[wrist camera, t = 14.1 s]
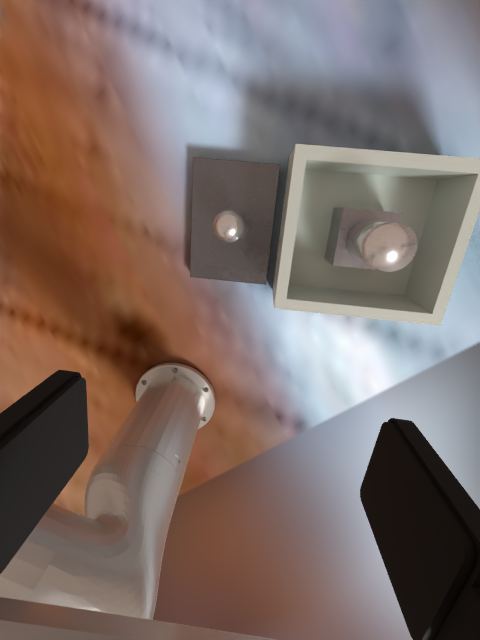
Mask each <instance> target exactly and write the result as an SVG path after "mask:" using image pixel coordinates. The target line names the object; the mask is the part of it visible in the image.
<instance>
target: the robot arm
mask: <svg viewBox="0 0 480 640" xmlns="http://www.w3.org/2000/svg"><path fill="white" fill-rule="evenodd" d="M176 368H177V369H176ZM206 387H207V388H206ZM135 395H136V402H137V403H136V405H135V406H134V408H133V409H132V411H131V412H130V414H129V415H128V417H127V418H126V420H125V421H124V423H123V424H122V426H121V427H120V429H119V430H118V432H117V433H116V435H115V436H114V438H113V439H112V441H111V442H110V444H109V446H108V447H107V449H106V450H105V452H104V453H103V455H102V456H101V458H100V459H99V461H98V462H97V464H96V465H95V467H94V469H93V470H92V472H91V475H90V477H89V480H88V483H87V487H86V492H85V516H83V515H81V514H80V515H79V514H76V513H74V512H72V511H70V510H68V509H65V508H63V507H61V506H59V505H56V504H54V503H53V502H54V501H55V499H56V498H57V497H58V495H59V494H60V492H61V491H62V490H63V488H64V487H65V486H66V484H67V483H68V481H69V480H70V479H71V477H72V476H73V475H74V473H75V472H76V470H77V469H78V468H79V466H80V465H81V464H82V462H83V461H84V459H85V458H86V455H87V453H88V448H89V444H88V419H87V394H86V380H85V379H84V378H82V377H81V374H80V373H78V372H72V371H65V370H58V371H56V372H55V373H54V374H52V375H51V376H50V377H48V378H47V379H46V380H44V381H43V382H42V383H40V384H39V385H38V386H36V387H35V388H34V389H32V390H31V391H30V392H28V393H27V394H26V395H24V396H23V397H22V398H20V399H19V400H18V401H16V402H15V403H14V404H12V405H11V406H10V407H8V408H7V409H6V410H4V411H3V412H2V413H0V640H276V639H270V638H263V637H257V636H250V635H244V634H238V633H232V632H225V631H219V630H213V629H206V628H200V627H193V626H187V625H181V624H174V623H168V622H162V621H155V620H152V619H153V615H154V610H155V604H156V598H157V591H158V584H159V576H160V569H161V563H162V556H163V551H164V545H165V540H166V536H167V532H168V528H169V524H170V520H171V516H172V513H173V509H174V506H175V503H176V499H177V496H178V493H179V490H180V486H181V483H182V480H183V476H184V473H185V470H186V467H187V463H188V460H189V457H190V453H191V450H192V447H193V444H194V440H195V437H196V434H197V430H198V429H199V428H201V427H203V426H204V425H205V424H206V423H207V422H208V421H209V420H210V418H211V416H212V414H213V412H214V408H215V393H214V390H213V388H212V385H211V384H210V382H209V381H208V379H207V378H206V377H205V376H204V375H203V374H202V373H200V372H199V371H198V370H196V369H194V368H192V367H190V366H187V365H184V364H180V363H163V364H159V365H156V366H154V367H152V368H151V369H149V370H148V371H147V372H146V373H145V374H144V375H143V376H142V377H141V379H140V380H139V382H138V384H137V387H136V392H135ZM360 497H361V501H362V504H363V507H364V510H365V512H366V515H367V518H368V520H369V523H370V526H371V529H372V531H373V534H374V537H375V540H376V542H377V545H378V548H379V550H380V553H381V556H382V559H383V562H384V564H385V567H386V569H387V572H388V575H389V578H390V581H391V583H392V586H393V589H394V591H395V594H396V597H397V600H398V603H399V605H400V608H401V611H402V613H403V616H404V619H405V621H406V624H407V627H408V630H409V632H410V635H411V637H412V639H413V640H480V509H479V508H478V506H477V505H476V504H475V503H474V501H473V500H472V499H471V497H470V496H469V495H468V493H467V492H466V491H465V489H464V488H463V487H462V486H461V484H460V483H459V482H458V480H457V479H456V478H455V476H454V475H453V474H452V472H451V471H450V470H449V469H448V467H447V466H446V465H445V463H444V462H443V461H442V459H441V458H440V457H439V455H438V454H437V453H436V451H435V450H434V449H433V448H432V446H431V445H430V444H429V442H428V441H427V440H426V438H425V437H424V436H423V435H422V433H421V432H420V431H419V429H418V428H417V427H416V425H415V424H414V423H413V422H412V421H408V420H401V419H395V418H391V419H390V420H388V422H384V423H383V424H382V426H381V429H380V432H379V435H378V438H377V441H376V444H375V447H374V450H373V453H372V456H371V459H370V462H369V465H368V468H367V471H366V474H365V477H364V480H363V482H362V485H361V489H360Z"/></svg>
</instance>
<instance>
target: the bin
mask: <svg viewBox="0 0 480 640" xmlns="http://www.w3.org/2000/svg"><path fill="white" fill-rule="evenodd" d="M333 208H354V209H365V210H376V211H387V212H398V213H403V215H402V219H401V223H400V224H403V225H406V226H408V227H410V228H411V229H412V230H413V231H414V233H415V235H416V237H417V241H418V246H417V251H416V254H415V256H414V258H413V259H412V260H411V262H410V263H409V264H408V265H406V266H405V267H403V268H402V269H400V270H397V271H393V272H385V271H381V270H374V269H364V268H354V267H344V266H334V265H332V264H330V263H329V262H328V261H327V260H326V259H324V257H325V252H326V247H327V241H328V236H329V230H330V225H331V219H332V214H333ZM479 212H480V159H479V158H467V157H454V156H442V155H429V154H417V153H405V152H392V151H380V150H367V149H355V148H342V147H330V146H317V145H305V144H295V146H294V148H293V150H292V153H291V155H290V157H289V163H288V171H287V179H286V187H285V194H284V202H283V210H282V218H281V226H280V234H279V242H278V250H277V258H276V266H275V274H274V282H273V302H274V308H277V309H287V310H296V311H306V312H315V313H325V314H334V315H344V316H353V317H363V318H373V319H382V320H392V321H401V322H411V323H420V324H430V325H441V322H442V319H443V316H444V313H445V310H446V307H447V305H448V302H449V299H450V296H451V293H452V290H453V287H454V284H455V281H456V278H457V275H458V273H459V270H460V267H461V264H462V261H463V258H464V255H465V252H466V249H467V246H468V244H469V241H470V238H471V235H472V232H473V229H474V226H475V223H476V220H477V217H478V214H479Z"/></svg>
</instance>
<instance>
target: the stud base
mask: <svg viewBox="0 0 480 640" xmlns="http://www.w3.org/2000/svg"><path fill="white" fill-rule="evenodd" d="M279 170H280V165H279V164H267V163H256V162H244V161H232V160H220V159H208V158H196V157H193V184H192V222H191V261H190V277H196V278H206V279H216V280H225V281H235V282H245V283H255V284H265V285H266V280H267V272H268V263H269V255H270V246H271V238H272V229H273V221H274V212H275V204H276V195H277V187H278V178H279Z"/></svg>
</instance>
